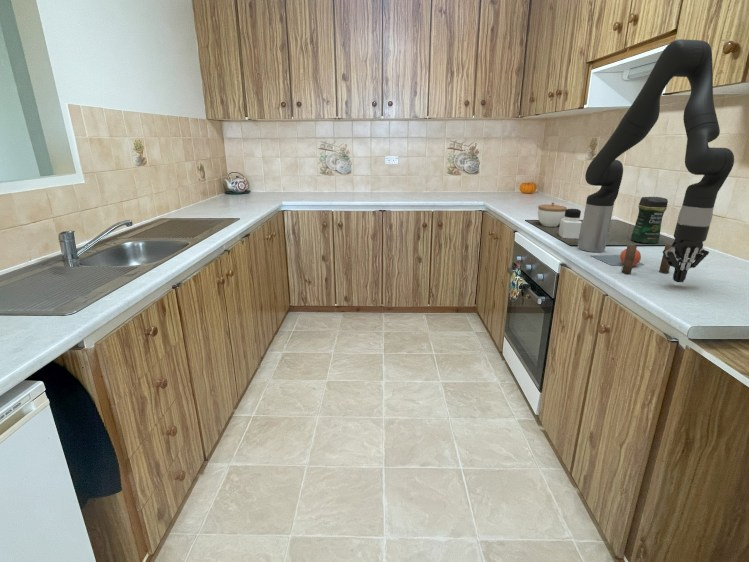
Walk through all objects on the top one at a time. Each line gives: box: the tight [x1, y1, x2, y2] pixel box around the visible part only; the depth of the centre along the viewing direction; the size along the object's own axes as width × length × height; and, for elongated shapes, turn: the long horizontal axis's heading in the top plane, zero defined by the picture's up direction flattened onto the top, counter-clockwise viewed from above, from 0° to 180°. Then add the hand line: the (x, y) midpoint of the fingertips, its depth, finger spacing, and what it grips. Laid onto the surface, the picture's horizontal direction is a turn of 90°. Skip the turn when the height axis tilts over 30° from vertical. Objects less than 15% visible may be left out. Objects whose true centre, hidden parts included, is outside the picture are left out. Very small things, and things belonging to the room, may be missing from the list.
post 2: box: [658, 243, 673, 274], centre depth 136 cm, size 3×3×9 cm
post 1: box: [621, 244, 638, 275], centre depth 134 cm, size 3×3×9 cm
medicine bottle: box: [558, 208, 583, 240], centre depth 182 cm, size 7×7×12 cm
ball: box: [619, 248, 642, 266], centre depth 143 cm, size 6×6×6 cm
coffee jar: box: [630, 196, 669, 244], centre depth 174 cm, size 10×8×19 cm
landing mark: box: [590, 254, 645, 267], centre depth 150 cm, size 12×12×1 cm
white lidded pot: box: [537, 201, 568, 228], centre depth 205 cm, size 13×13×11 cm
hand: (678, 281), depth 124 cm, fingers closed
